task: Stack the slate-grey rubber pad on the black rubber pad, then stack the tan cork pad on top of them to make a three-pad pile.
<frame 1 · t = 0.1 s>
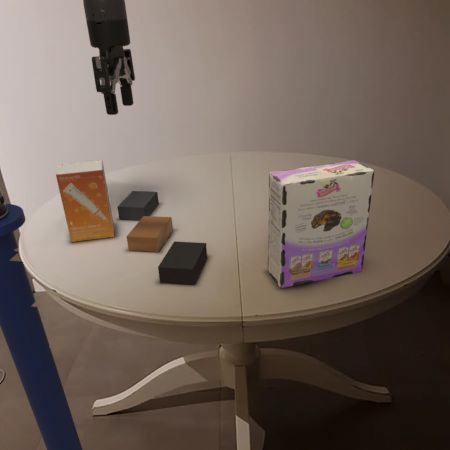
hand: (120, 109, 96), 19 cm above the table, tool pointing down, fingers open, 8 cm apart
black pad: (184, 269, 77), on the table
candy box: (314, 273, 74), on the table
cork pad: (151, 240, 86), on the table
grey pad: (139, 211, 98), on the table
small box: (93, 234, 90), on the table
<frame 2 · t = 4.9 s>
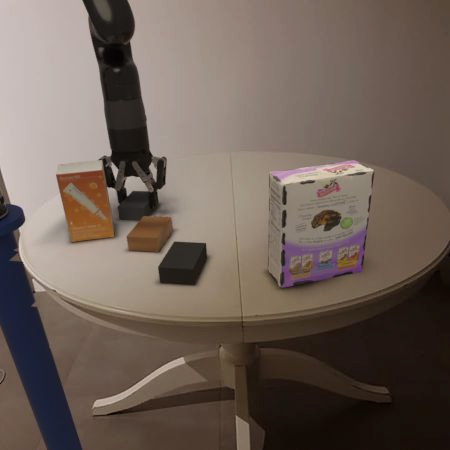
hand: (139, 206, 98), 1 cm above the table, tool pointing down, fingers closed on grey pad, 5 cm apart
grey pad: (139, 211, 98), on the table, touching gripper
everything else where it was.
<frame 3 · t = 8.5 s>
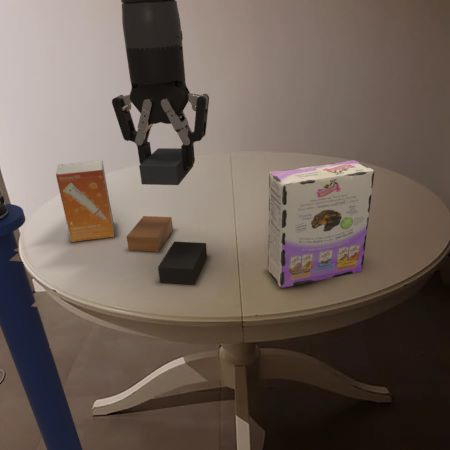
hand: (168, 168, 71), 16 cm above the table, tool pointing down, fingers closed on grey pad, 5 cm apart
grey pad: (168, 174, 72), point 15 cm above the table, touching gripper
everything else where it was.
when the fingers open (4 cm above the table, at t = 12.0 s): grey pad stays where it is, resting on black pad.
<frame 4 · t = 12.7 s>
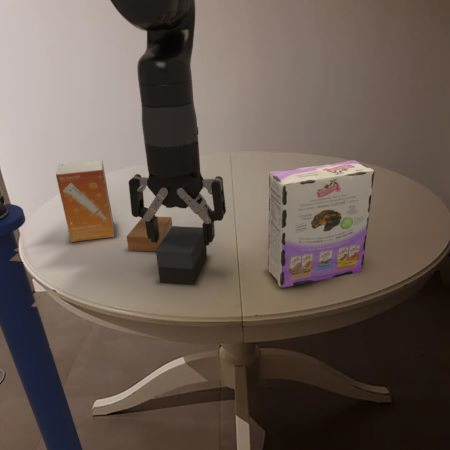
hand: (181, 242, 74), 5 cm above the table, tool pointing down, fingers open, 8 cm apart
black pad: (184, 269, 77), on the table, touching grey pad
grey pad: (182, 254, 75), point 3 cm above the table, touching black pad
everything else where it was.
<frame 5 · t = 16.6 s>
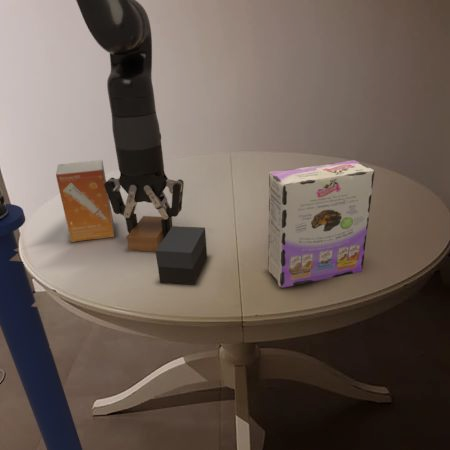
hand: (151, 235, 86), 1 cm above the table, tool pointing down, fingers closed on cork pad, 5 cm apart
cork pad: (151, 240, 86), on the table, touching gripper
everything else where it was.
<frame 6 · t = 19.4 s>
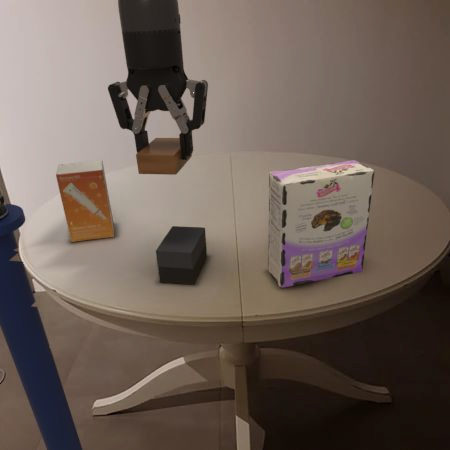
hand: (165, 157, 69), 18 cm above the table, tool pointing down, fingers closed on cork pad, 5 cm apart
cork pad: (166, 164, 70), point 17 cm above the table, touching gripper
everything else where it was.
when the fingers open (7 cm above the table, at t = 22.6 s): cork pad stays where it is, resting on grey pad.
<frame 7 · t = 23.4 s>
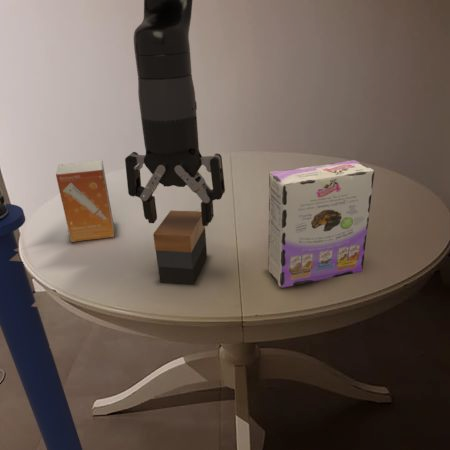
hand: (179, 222, 72), 8 cm above the table, tool pointing down, fingers open, 8 cm apart
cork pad: (181, 238, 74), point 6 cm above the table, touching grey pad
grey pad: (182, 254, 75), point 3 cm above the table, touching black pad, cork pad
everything else where it was.
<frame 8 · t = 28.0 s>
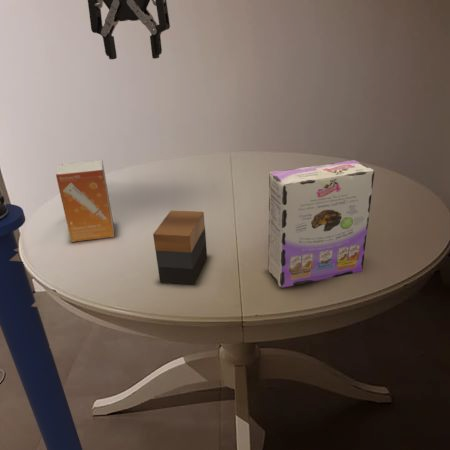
hand: (134, 58, 88), 28 cm above the table, tool pointing down, fingers open, 8 cm apart
nothing on the table moved.
at the end: grey pad 0.0 cm off-centre on the black pad, point 2.8 cm above the black pad's base; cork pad 0.0 cm off-centre on the black pad, point 5.6 cm above the black pad's base; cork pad tilted 0° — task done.
